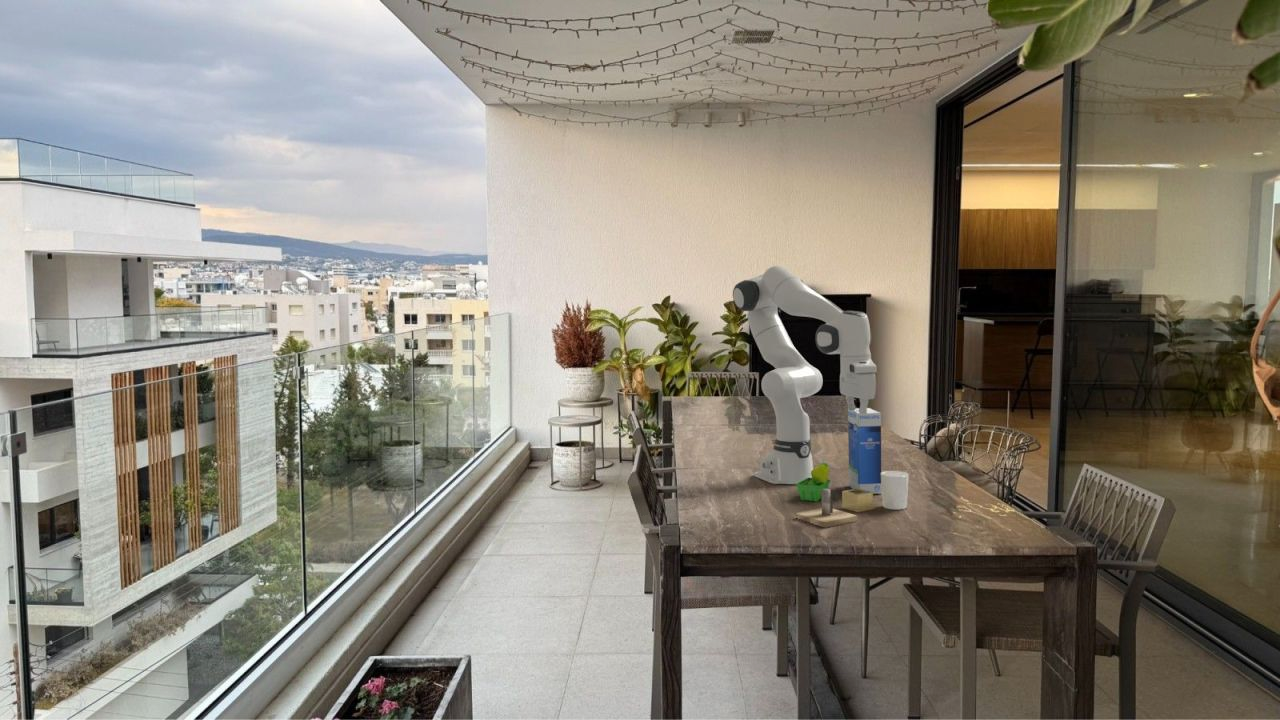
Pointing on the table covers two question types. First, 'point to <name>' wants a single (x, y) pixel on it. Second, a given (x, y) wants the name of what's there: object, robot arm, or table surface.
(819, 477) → the fruit basket
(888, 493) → the white cup
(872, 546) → the table surface
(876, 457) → the string lights box
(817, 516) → the shaft block
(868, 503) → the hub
